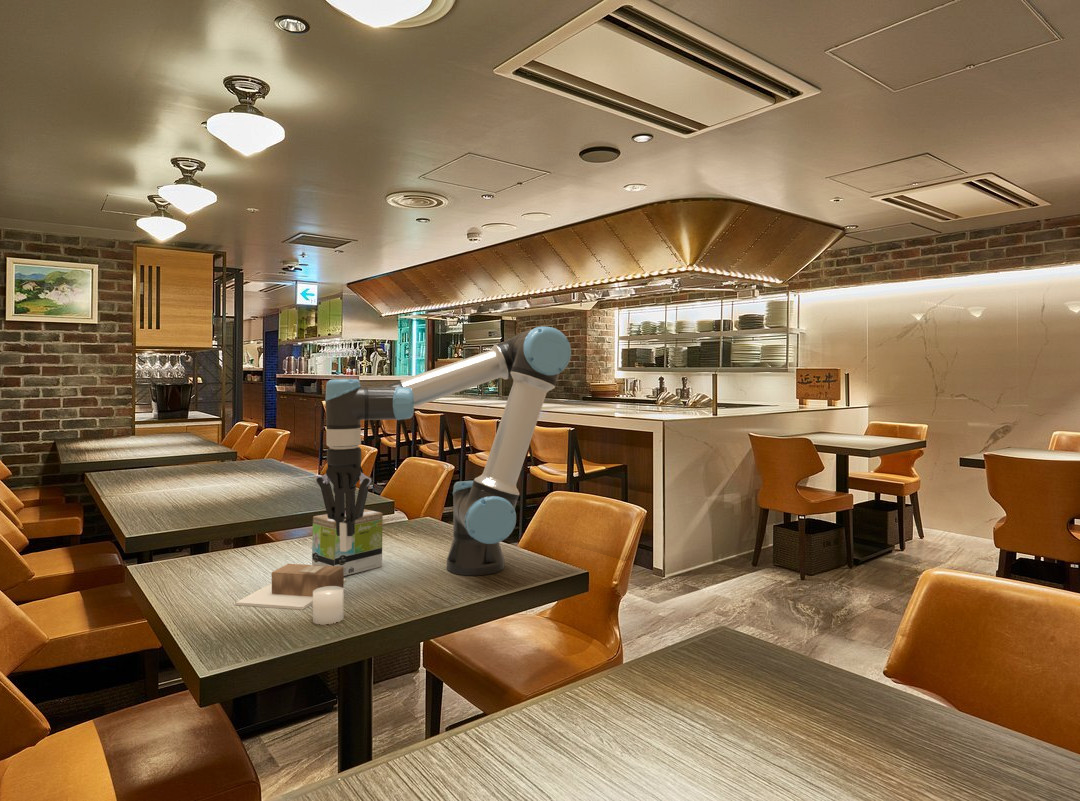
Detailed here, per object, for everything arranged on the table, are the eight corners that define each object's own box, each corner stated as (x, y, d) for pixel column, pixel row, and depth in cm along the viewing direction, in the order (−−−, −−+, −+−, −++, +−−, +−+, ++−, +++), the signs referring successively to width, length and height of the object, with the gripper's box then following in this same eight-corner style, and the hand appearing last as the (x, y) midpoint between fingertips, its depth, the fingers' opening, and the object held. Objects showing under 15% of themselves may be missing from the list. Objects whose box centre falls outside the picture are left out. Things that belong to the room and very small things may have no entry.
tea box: (335, 580, 159) (334, 521, 159) (311, 573, 166) (310, 515, 165) (383, 566, 171) (383, 511, 171) (359, 560, 177) (359, 506, 177)
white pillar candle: (348, 615, 136) (348, 586, 136) (334, 625, 130) (334, 596, 130) (322, 613, 137) (322, 585, 137) (307, 623, 131) (307, 594, 131)
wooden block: (343, 566, 152) (288, 563, 154) (328, 574, 145) (271, 571, 147) (343, 587, 152) (288, 584, 154) (329, 597, 145) (271, 594, 148)
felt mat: (346, 581, 159) (346, 578, 159) (303, 609, 139) (302, 607, 139) (286, 577, 162) (286, 575, 162) (235, 605, 142) (235, 602, 142)
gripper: (377, 445, 150) (379, 546, 151) (325, 444, 152) (327, 544, 153) (363, 449, 142) (365, 555, 143) (308, 448, 145) (311, 553, 146)
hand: (346, 549), depth 148 cm, fingers closed
